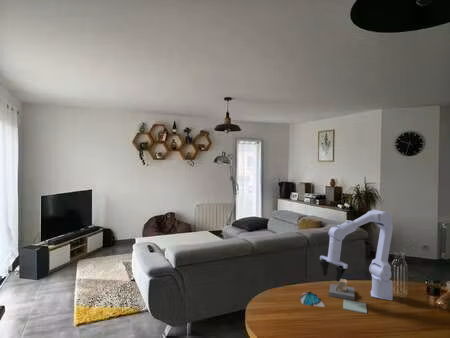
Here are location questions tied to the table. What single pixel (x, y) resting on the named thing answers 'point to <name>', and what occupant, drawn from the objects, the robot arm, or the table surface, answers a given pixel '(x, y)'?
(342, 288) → the maple block
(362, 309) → the rubber mat
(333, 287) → the pocket holder
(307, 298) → the decorative butterfly
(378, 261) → the robot arm
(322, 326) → the table surface
